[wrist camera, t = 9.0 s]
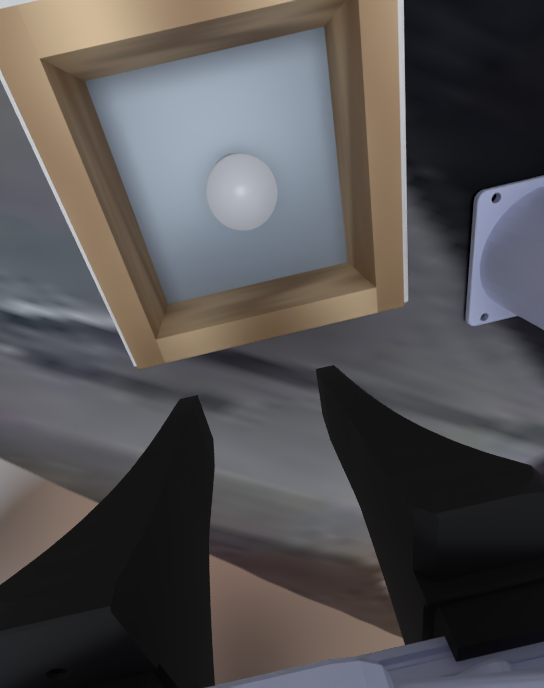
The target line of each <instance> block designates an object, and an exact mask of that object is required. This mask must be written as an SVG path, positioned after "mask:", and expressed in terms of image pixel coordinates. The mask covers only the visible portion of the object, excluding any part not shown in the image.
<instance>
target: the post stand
mask: <svg viewBox="0 0 544 688" xmlns="http://www.w3.org/2000/svg"><path fill="white" fill-rule="evenodd" d="M33 1H37V0H0V9H2V8H6V7H11V6H15V5H19V4H24V3H28V2H33ZM398 44H399V90H400V137H401V183H402V229H403V275H404V302H408V257H407V193H406V128H405V64H404V0H398ZM0 80H1V82H2V84H3V86H4V88H5V90H6V92H7V95H8V97H9V99H10V101H11V103H12V105H13V107H14V110H15V112H16V114H17V116H18V118H19V120H20V123H21V125H22V127H23V129H24V131H25V133H26V135H27V138H28V140H29V142H30V144H31V146H32V148H33V150H34V153H35V155H36V157H37V159H38V161H39V163H40V165H41V168H42V170H43V172H44V174H45V176H46V178H47V180H48V183H49V185H50V187H51V189H52V191H53V193H54V195H55V198H56V200H57V202H58V204H59V206H60V208H61V210H62V213H63V215H64V217H65V219H66V221H67V223H68V225H69V228H70V230H71V232H72V234H73V236H74V238H75V240H76V243H77V245H78V247H79V249H80V251H81V253H82V255H83V258H84V260H85V262H86V264H87V266H88V268H89V270H90V273H91V275H92V277H93V279H94V281H95V283H96V285H97V288H98V290H99V292H100V294H101V296H102V298H103V300H104V303H105V305H106V307H107V309H108V311H109V313H110V316H111V318H112V320H113V322H114V324H115V326H116V328H117V331H118V333H119V335H120V337H121V339H122V341H123V343H124V346H125V348H126V350H127V352H128V354H129V356H130V358H131V361H132V363H133V365H134V367H135V366H137V365H136V363H135V361H134V358H133V356H132V354H131V352H130V350H129V348H128V345H127V343H126V341H125V339H124V337H123V335H122V332H121V330H120V328H119V326H118V324H117V322H116V319H115V317H114V315H113V313H112V311H111V309H110V306H109V304H108V302H107V300H106V298H105V296H104V293H103V291H102V289H101V287H100V285H99V283H98V280H97V278H96V276H95V274H94V272H93V270H92V267H91V265H90V263H89V261H88V259H87V257H86V254H85V252H84V250H83V248H82V246H81V244H80V241H79V239H78V237H77V235H76V233H75V231H74V228H73V226H72V224H71V222H70V220H69V218H68V215H67V213H66V211H65V209H64V207H63V205H62V202H61V200H60V198H59V196H58V194H57V192H56V189H55V187H54V185H53V183H52V181H51V179H50V176H49V174H48V172H47V170H46V168H45V166H44V163H43V161H42V159H41V157H40V155H39V153H38V150H37V148H36V146H35V144H34V142H33V140H32V137H31V135H30V133H29V131H28V129H27V127H26V124H25V122H24V120H23V118H22V116H21V114H20V111H19V109H18V107H17V105H16V103H15V101H14V98H13V96H12V94H11V92H10V90H9V88H8V85H7V83H6V81H5V79H4V77H3V75H2V72H1V70H0ZM85 83H86V86H87V88H88V91H89V94H90V96H91V99H92V102H93V104H94V107H95V110H96V112H97V115H98V118H99V120H100V123H101V126H102V129H103V131H104V134H105V137H106V139H107V142H108V145H109V147H110V150H111V153H112V155H113V158H114V161H115V163H116V166H117V169H118V171H119V174H120V177H121V179H122V182H123V185H124V188H125V190H126V193H127V196H128V198H129V201H130V204H131V206H132V209H133V212H134V214H135V217H136V220H137V222H138V225H139V228H140V230H141V233H142V236H143V238H144V241H145V244H146V247H147V249H148V252H149V255H150V257H151V260H152V263H153V265H154V268H155V271H156V273H157V276H158V279H159V281H160V284H161V287H162V289H163V292H164V295H165V297H166V300H167V303H168V304H171V303H176V302H180V301H184V300H188V299H193V298H197V297H201V296H205V295H210V294H214V293H218V292H222V291H227V290H231V289H235V288H239V287H243V286H248V285H252V284H256V283H260V282H265V281H269V280H273V279H277V278H282V277H286V276H290V275H294V274H298V273H303V272H307V271H311V270H315V269H320V268H324V267H328V266H332V265H337V264H341V263H345V262H348V261H347V251H346V241H345V231H344V221H343V211H342V201H341V191H340V181H339V171H338V161H337V151H336V141H335V131H334V121H333V111H332V101H331V91H330V80H329V70H328V60H327V50H326V40H325V30H324V27H320V28H316V29H312V30H307V31H303V32H298V33H294V34H290V35H285V36H281V37H277V38H272V39H268V40H263V41H259V42H255V43H250V44H246V45H242V46H237V47H233V48H229V49H224V50H220V51H215V52H211V53H207V54H202V55H198V56H194V57H189V58H185V59H180V60H176V61H172V62H167V63H163V64H159V65H154V66H150V67H145V68H141V69H137V70H132V71H128V72H124V73H119V74H115V75H111V76H106V77H102V78H97V79H93V80H89V81H85Z"/></svg>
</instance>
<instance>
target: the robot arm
mask: <svg viewBox="0 0 544 688" xmlns="http://www.w3.org/2000/svg"><path fill="white" fill-rule="evenodd" d="M495 193H496V199H495V200H494V201H493V202H492V200H491V199H492V196H493V195H494V194H495ZM483 314H484V316H483V317H482V318H481V316H482V315H483ZM515 316H520V317H521V318H523V319H525V320H527V321H529V322H530V323H532V324H534V325H536V326H538V327H539V328H541V329H543V330H544V175H543V176H539V177H535V178H530V179H526V180H522V181H517V182H513V183H509V184H505V185H500V186H496V187H492V188H488V189H484V190H481V191H480V192H479V193H477V195H476V196H475V199H474V205H473V219H472V234H471V248H470V262H469V276H468V290H467V304H466V318H465V319H466V322H467V323H468V324H469V325H471V326H477V325H481V324H486V323H490V322H494V321H498V320H502V319H507V318H511V317H515ZM316 373H317V380H318V387H319V393H320V400H321V407H322V414H323V418H324V421H325V424H326V427H327V430H328V434H329V437H330V440H331V442H332V444H333V447H334V449H335V451H336V453H337V456H338V458H339V460H340V462H341V465H342V467H343V469H344V471H345V473H346V476H347V478H348V480H349V482H350V484H351V487H352V489H353V491H354V493H355V495H356V498H357V500H358V503H359V505H360V508H361V511H362V513H363V516H364V519H365V522H366V525H367V528H368V531H369V534H370V537H371V540H372V543H373V546H374V549H375V552H376V555H377V558H378V561H379V564H380V567H381V570H382V573H383V576H384V579H385V583H386V586H387V589H388V592H389V595H390V598H391V601H392V604H393V607H394V611H395V614H396V617H397V620H398V624H399V627H400V630H401V633H402V636H403V640H404V643H405V645H404V646H400V647H395V648H391V649H387V650H382V651H379V652H374V653H369V654H366V655H361V656H356V657H347V658H337V659H328V660H324V661H320V662H316V663H311V664H307V665H303V666H298V667H294V668H289V669H285V670H281V671H276V672H272V673H268V674H263V675H259V676H255V677H250V678H246V679H242V680H237V681H233V682H229V683H224V684H220V685H216V686H215V681H214V665H213V649H212V630H211V607H210V576H209V530H210V517H211V505H212V493H213V481H214V468H215V464H214V443H213V437H212V434H211V431H210V429H209V426H208V423H207V420H206V418H205V415H204V412H203V409H202V406H201V404H200V401H199V398H198V395H196V396H192V397H187V398H183V399H180V400H179V401H178V403H177V404H176V406H175V407H174V409H173V410H172V412H171V413H170V415H169V417H168V418H167V420H166V421H165V423H164V424H163V426H162V427H161V429H160V430H159V432H158V433H157V435H156V436H155V438H154V439H153V441H152V442H151V443H150V445H149V446H148V448H147V449H146V450H145V452H144V453H143V454H142V456H141V457H140V458H139V459H138V461H137V462H136V463H135V465H134V466H133V467H132V468H131V470H130V471H129V472H128V473H127V474H126V476H125V477H124V478H123V479H122V480H121V481H120V482H119V483H118V484H117V486H116V487H115V488H114V489H113V490H112V491H111V492H110V493H109V494H108V495H107V496H106V497H105V498H104V499H103V500H102V501H101V502H100V503H99V504H98V505H97V506H96V507H95V508H94V509H93V510H92V511H91V512H90V513H89V514H88V515H87V516H86V517H85V518H84V519H83V520H81V521H80V522H79V523H78V524H77V525H76V526H75V527H74V528H72V529H71V530H70V531H69V532H68V533H67V534H66V535H64V536H63V537H62V538H61V539H60V540H58V541H57V542H56V543H55V544H54V545H52V546H51V547H50V548H49V549H47V550H46V551H45V552H44V553H42V554H41V555H40V556H38V557H37V558H36V559H35V560H33V561H32V562H30V563H29V564H28V565H27V566H25V567H24V568H22V569H21V570H20V571H18V572H17V573H16V574H15V575H13V576H12V577H11V578H9V579H8V580H6V581H5V582H4V583H2V584H1V585H0V688H544V477H543V476H542V475H541V474H540V473H539V472H538V471H536V470H535V469H534V468H533V467H532V466H531V465H528V464H524V463H521V462H517V461H514V460H510V459H506V458H503V457H499V456H496V455H492V454H489V453H486V452H483V451H480V450H477V449H474V448H472V447H469V446H466V445H463V444H461V443H458V442H455V441H453V440H450V439H448V438H446V437H443V436H441V435H439V434H436V433H434V432H432V431H430V430H428V429H425V428H423V427H421V426H419V425H417V424H415V423H414V422H412V421H410V420H408V419H406V418H404V417H402V416H401V415H399V414H397V413H396V412H394V411H393V410H391V409H390V408H388V407H386V406H385V405H383V404H382V403H380V402H379V401H378V400H376V399H375V398H373V397H372V396H371V395H369V394H368V393H367V392H365V391H364V390H363V389H361V388H360V387H359V386H358V385H356V384H355V383H354V382H353V381H352V380H350V379H349V378H348V377H347V376H346V375H345V374H343V373H342V372H341V371H340V370H339V369H338V368H337V367H335V366H334V365H333V366H328V367H323V368H319V369H316Z"/></svg>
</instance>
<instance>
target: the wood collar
mask: <svg viewBox="0 0 544 688" xmlns="http://www.w3.org/2000/svg"><path fill="white" fill-rule="evenodd" d="M320 27H324V30H325V40H326V50H327V60H328V70H329V80H330V91H331V101H332V111H333V121H334V131H335V141H336V151H337V161H338V171H339V181H340V191H341V201H342V211H343V221H344V231H345V241H346V251H347V261H348V262H345V263H341V264H337V265H332V266H328V267H324V268H320V269H315V270H311V271H307V272H303V273H298V274H294V275H290V276H286V277H282V278H277V279H273V280H269V281H265V282H260V283H256V284H252V285H248V286H243V287H239V288H235V289H231V290H227V291H222V292H218V293H214V294H210V295H205V296H201V297H197V298H193V299H188V300H184V301H180V302H176V303H171V304H168V303H167V300H166V297H165V295H164V292H163V289H162V287H161V284H160V281H159V279H158V276H157V273H156V271H155V268H154V265H153V263H152V260H151V257H150V255H149V252H148V249H147V247H146V244H145V241H144V238H143V236H142V233H141V230H140V228H139V225H138V222H137V220H136V217H135V214H134V212H133V209H132V206H131V204H130V201H129V198H128V196H127V193H126V190H125V188H124V185H123V182H122V179H121V177H120V174H119V171H118V169H117V166H116V163H115V161H114V158H113V155H112V153H111V150H110V147H109V145H108V142H107V139H106V137H105V134H104V131H103V129H102V126H101V123H100V120H99V118H98V115H97V112H96V110H95V107H94V104H93V102H92V99H91V96H90V94H89V91H88V88H87V86H86V83H85V81H89V80H93V79H97V78H102V77H106V76H111V75H115V74H119V73H124V72H128V71H132V70H137V69H141V68H145V67H150V66H154V65H159V64H163V63H167V62H172V61H176V60H180V59H185V58H189V57H194V56H198V55H202V54H207V53H211V52H215V51H220V50H224V49H229V48H233V47H237V46H242V45H246V44H250V43H255V42H259V41H263V40H268V39H272V38H277V37H281V36H285V35H290V34H294V33H298V32H303V31H307V30H312V29H316V28H320ZM0 70H1V72H2V75H3V77H4V79H5V81H6V83H7V85H8V88H9V90H10V92H11V94H12V96H13V98H14V101H15V103H16V105H17V107H18V109H19V111H20V114H21V116H22V118H23V120H24V122H25V124H26V127H27V129H28V131H29V133H30V135H31V137H32V140H33V142H34V144H35V146H36V148H37V150H38V153H39V155H40V157H41V159H42V161H43V163H44V166H45V168H46V170H47V172H48V174H49V176H50V179H51V181H52V183H53V185H54V187H55V189H56V192H57V194H58V196H59V198H60V200H61V202H62V205H63V207H64V209H65V211H66V213H67V215H68V218H69V220H70V222H71V224H72V226H73V228H74V231H75V233H76V235H77V237H78V239H79V241H80V244H81V246H82V248H83V250H84V252H85V254H86V257H87V259H88V261H89V263H90V265H91V267H92V270H93V272H94V274H95V276H96V278H97V280H98V283H99V285H100V287H101V289H102V291H103V293H104V296H105V298H106V300H107V302H108V304H109V306H110V309H111V311H112V313H113V315H114V317H115V319H116V322H117V324H118V326H119V328H120V330H121V332H122V335H123V337H124V339H125V341H126V343H127V345H128V348H129V350H130V352H131V354H132V356H133V358H134V361H135V363H136V365H137V367H138V369H143V368H147V367H152V366H156V365H160V364H164V363H168V362H173V361H177V360H181V359H185V358H189V357H194V356H198V355H202V354H206V353H210V352H215V351H219V350H223V349H227V348H231V347H236V346H240V345H244V344H248V343H252V342H257V341H261V340H265V339H269V338H273V337H278V336H282V335H286V334H290V333H294V332H299V331H303V330H307V329H311V328H315V327H320V326H324V325H328V324H332V323H336V322H341V321H345V320H349V319H353V318H358V317H362V316H366V315H370V314H374V313H379V312H383V311H387V310H391V309H395V308H400V307H404V275H403V229H402V183H401V137H400V90H399V44H398V0H37V1H33V2H28V3H24V4H19V5H15V6H11V7H6V8H2V9H0Z"/></svg>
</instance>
